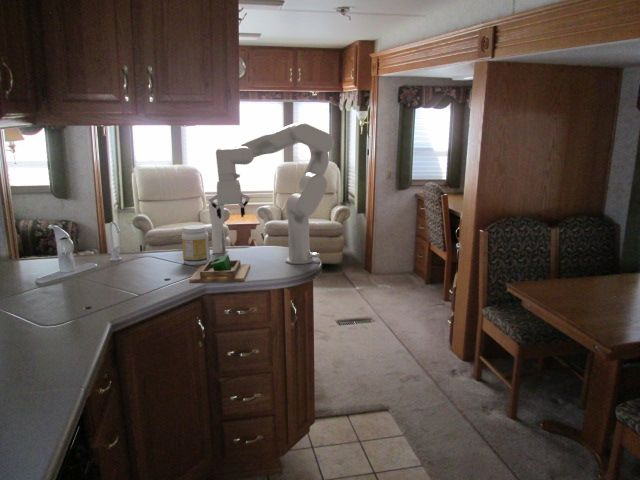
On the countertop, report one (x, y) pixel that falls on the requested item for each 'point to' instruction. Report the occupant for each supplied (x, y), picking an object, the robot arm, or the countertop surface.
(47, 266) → the countertop surface
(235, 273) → the brown shallow square tray
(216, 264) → the clamp
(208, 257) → the supplement tub
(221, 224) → the skyscraper
